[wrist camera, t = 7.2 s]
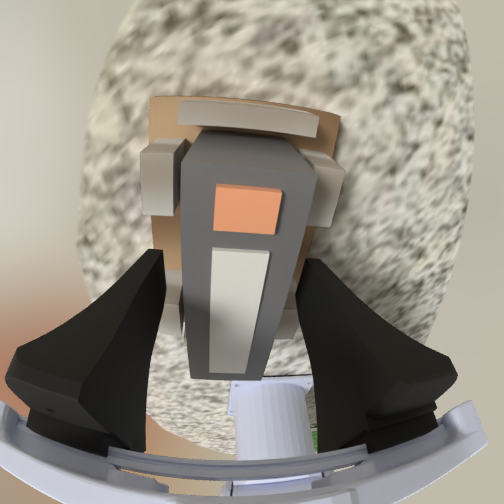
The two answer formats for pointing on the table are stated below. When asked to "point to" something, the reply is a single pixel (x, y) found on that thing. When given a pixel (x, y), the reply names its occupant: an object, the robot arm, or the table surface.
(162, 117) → the mounting board
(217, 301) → the grey rectangular block
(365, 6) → the table surface
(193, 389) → the table surface
